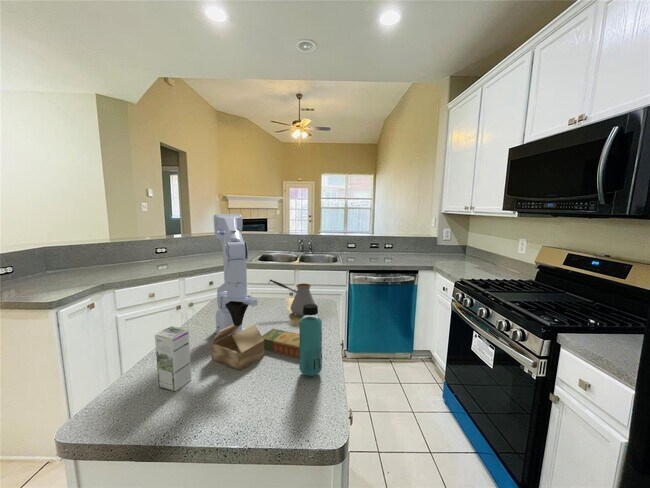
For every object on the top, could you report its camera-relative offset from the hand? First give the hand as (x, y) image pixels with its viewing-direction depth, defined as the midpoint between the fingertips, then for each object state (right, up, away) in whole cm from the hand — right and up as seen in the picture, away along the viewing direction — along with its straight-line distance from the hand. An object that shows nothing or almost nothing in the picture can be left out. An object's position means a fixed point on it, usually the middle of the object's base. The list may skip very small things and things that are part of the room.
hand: (238, 324), depth 88 cm
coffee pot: (+12, -6, +39) cm, 42 cm away
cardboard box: (0, -10, +1) cm, 10 cm away
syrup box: (-13, -12, -12) cm, 22 cm away
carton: (+14, -10, +8) cm, 19 cm away
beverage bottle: (+23, -12, -8) cm, 27 cm away
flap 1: (-4, -3, +2) cm, 5 cm away
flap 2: (+4, -4, -2) cm, 5 cm away
